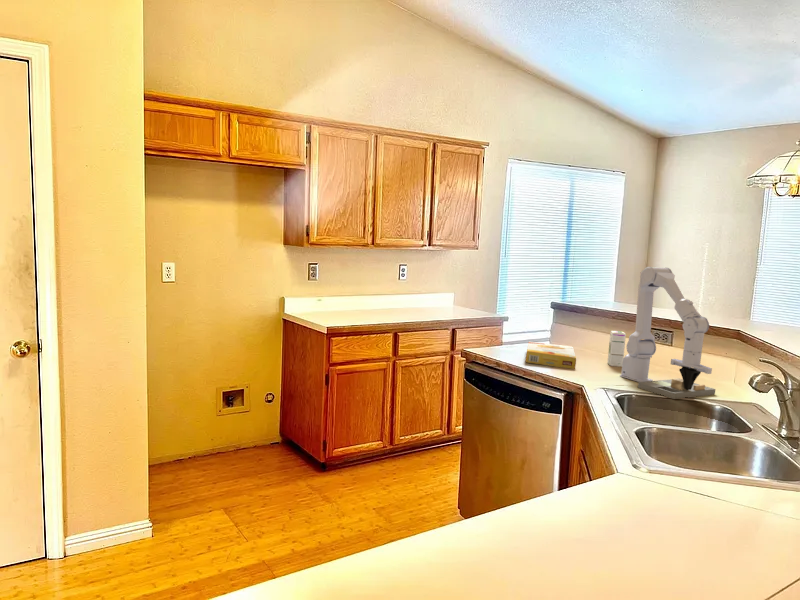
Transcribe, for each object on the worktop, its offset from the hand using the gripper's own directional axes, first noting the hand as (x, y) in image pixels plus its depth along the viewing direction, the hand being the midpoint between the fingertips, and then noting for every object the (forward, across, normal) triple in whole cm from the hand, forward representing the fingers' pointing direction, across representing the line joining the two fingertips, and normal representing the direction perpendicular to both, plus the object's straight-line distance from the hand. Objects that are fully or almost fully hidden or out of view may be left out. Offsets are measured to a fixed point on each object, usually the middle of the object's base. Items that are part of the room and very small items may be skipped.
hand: (687, 389), depth 206 cm
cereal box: (+3, +60, +8) cm, 61 cm away
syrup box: (+3, +45, -15) cm, 48 cm away
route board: (+3, +6, -3) cm, 7 cm away
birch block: (+1, +3, 0) cm, 3 cm away
